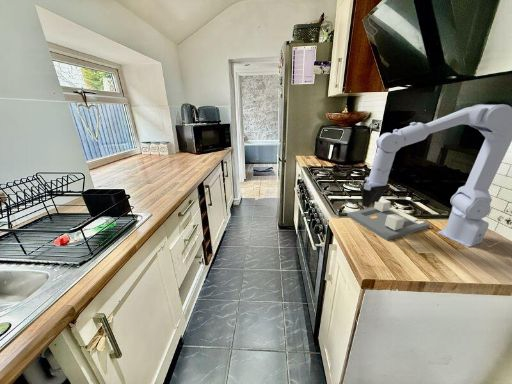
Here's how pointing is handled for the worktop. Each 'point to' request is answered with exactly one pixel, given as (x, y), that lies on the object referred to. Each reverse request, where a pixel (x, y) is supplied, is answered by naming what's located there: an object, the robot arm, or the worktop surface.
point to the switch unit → (377, 220)
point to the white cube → (394, 221)
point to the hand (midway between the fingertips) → (370, 203)
